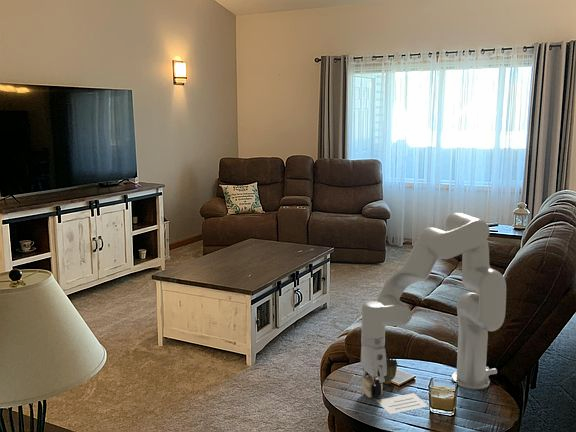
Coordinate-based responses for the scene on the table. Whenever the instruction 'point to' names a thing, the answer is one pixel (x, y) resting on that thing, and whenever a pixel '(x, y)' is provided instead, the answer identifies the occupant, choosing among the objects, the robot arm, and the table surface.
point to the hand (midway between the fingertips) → (372, 391)
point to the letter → (402, 403)
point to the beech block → (368, 385)
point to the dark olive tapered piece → (390, 370)
